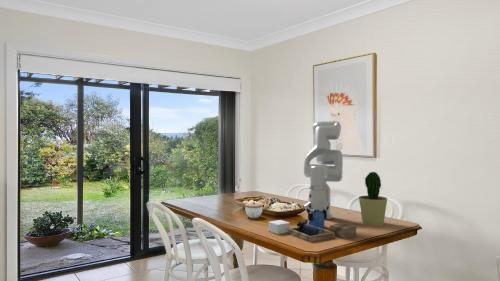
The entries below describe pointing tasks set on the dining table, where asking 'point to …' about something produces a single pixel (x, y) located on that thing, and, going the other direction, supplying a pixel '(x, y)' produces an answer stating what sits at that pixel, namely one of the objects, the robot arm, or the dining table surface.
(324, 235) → the wooden tray
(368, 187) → the potted cactus
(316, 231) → the navy pump bottle
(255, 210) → the filled white bowl
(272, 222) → the grey block
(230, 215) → the dining table surface
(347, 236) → the walnut block
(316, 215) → the perfume bottle
